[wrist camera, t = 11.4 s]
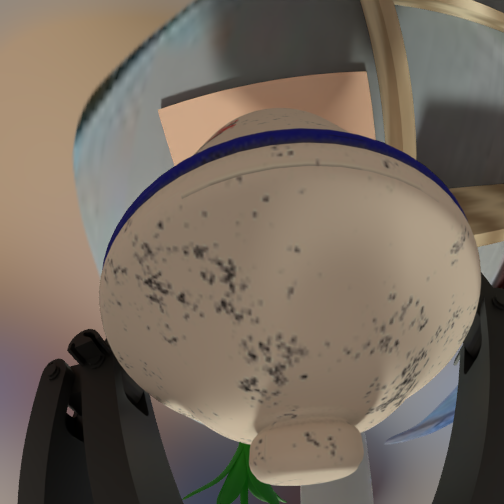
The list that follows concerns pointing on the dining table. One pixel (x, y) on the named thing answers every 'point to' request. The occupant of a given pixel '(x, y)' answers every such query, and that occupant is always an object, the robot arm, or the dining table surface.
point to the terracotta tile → (270, 96)
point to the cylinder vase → (343, 487)
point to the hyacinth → (241, 481)
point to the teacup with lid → (290, 289)
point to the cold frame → (401, 101)
